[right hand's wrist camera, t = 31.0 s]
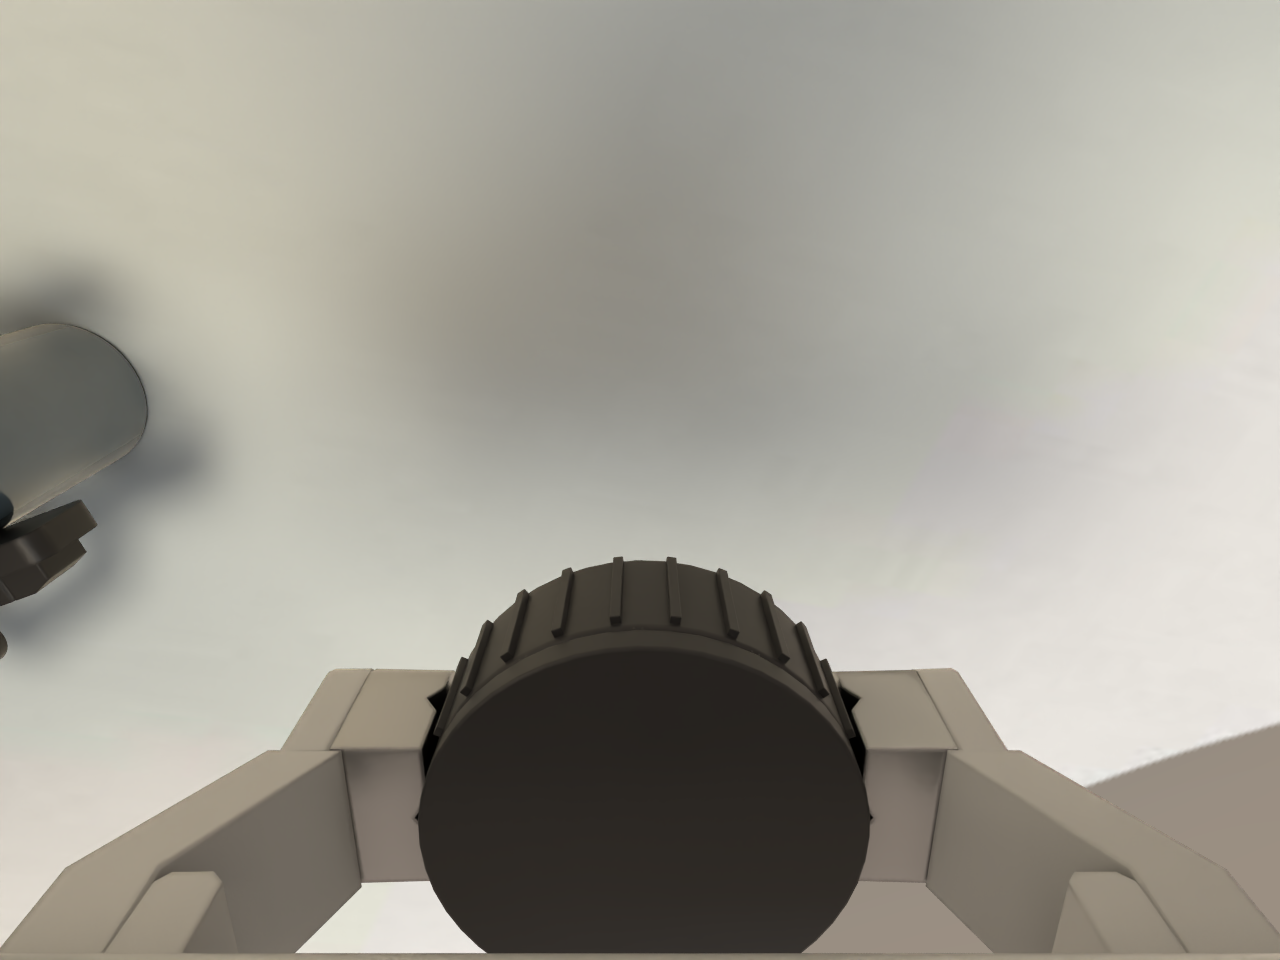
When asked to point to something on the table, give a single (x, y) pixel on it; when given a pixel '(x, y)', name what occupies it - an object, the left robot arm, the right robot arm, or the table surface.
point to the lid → (643, 772)
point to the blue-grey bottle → (61, 413)
